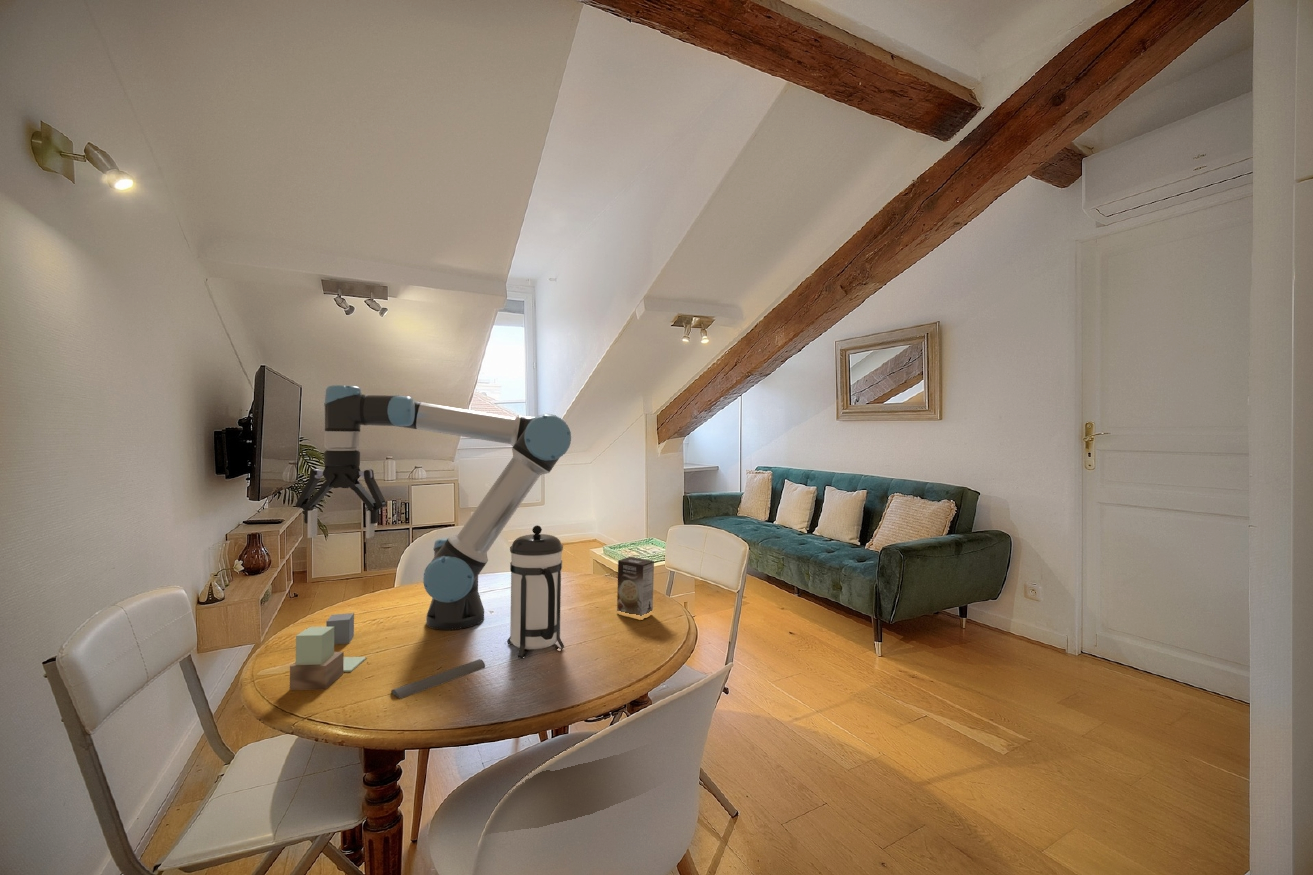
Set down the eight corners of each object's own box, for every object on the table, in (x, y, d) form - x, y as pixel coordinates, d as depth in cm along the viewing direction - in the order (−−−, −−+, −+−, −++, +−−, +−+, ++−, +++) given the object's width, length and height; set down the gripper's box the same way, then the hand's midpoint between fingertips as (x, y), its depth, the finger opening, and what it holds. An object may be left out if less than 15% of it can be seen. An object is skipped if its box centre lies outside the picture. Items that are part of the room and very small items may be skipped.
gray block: (353, 636, 137) (354, 612, 137) (349, 643, 133) (349, 619, 133) (331, 638, 136) (331, 614, 136) (326, 645, 131) (326, 621, 131)
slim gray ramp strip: (389, 695, 108) (389, 686, 108) (476, 664, 123) (476, 656, 123) (399, 702, 105) (399, 693, 105) (486, 670, 120) (486, 662, 120)
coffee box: (615, 615, 156) (616, 560, 156) (628, 609, 162) (629, 556, 162) (641, 621, 151) (642, 564, 151) (654, 615, 157) (654, 560, 157)
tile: (366, 658, 124) (366, 656, 124) (350, 672, 117) (351, 670, 117) (335, 658, 124) (335, 657, 124) (317, 672, 117) (317, 670, 117)
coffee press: (488, 655, 127) (489, 528, 127) (526, 632, 142) (528, 519, 142) (552, 667, 121) (554, 534, 121) (585, 642, 136) (587, 523, 136)
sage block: (334, 654, 115) (334, 626, 115) (321, 664, 110) (321, 635, 110) (309, 655, 114) (309, 626, 114) (295, 665, 109) (295, 635, 109)
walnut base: (343, 674, 116) (343, 651, 116) (325, 690, 109) (325, 665, 109) (309, 675, 116) (309, 652, 116) (289, 690, 109) (289, 666, 109)
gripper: (401, 449, 135) (400, 534, 135) (298, 448, 133) (297, 533, 133) (388, 450, 127) (387, 540, 127) (279, 449, 126) (278, 539, 126)
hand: (341, 537), depth 130 cm, fingers open, 13 cm apart
